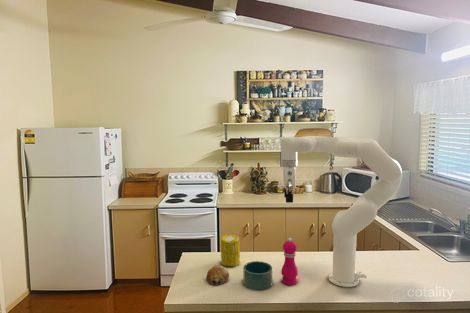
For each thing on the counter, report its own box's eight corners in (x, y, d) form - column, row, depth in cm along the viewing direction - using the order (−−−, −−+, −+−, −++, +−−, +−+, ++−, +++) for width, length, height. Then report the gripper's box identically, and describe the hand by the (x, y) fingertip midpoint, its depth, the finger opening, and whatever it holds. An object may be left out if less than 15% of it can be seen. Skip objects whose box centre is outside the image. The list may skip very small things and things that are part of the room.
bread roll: (231, 287, 144) (234, 268, 146) (219, 286, 135) (223, 267, 138) (212, 281, 149) (216, 264, 151) (200, 281, 140) (205, 262, 143)
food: (239, 262, 165) (236, 272, 155) (218, 256, 166) (213, 265, 156) (246, 235, 162) (243, 243, 152) (224, 229, 163) (219, 237, 153)
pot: (271, 276, 146) (271, 261, 146) (272, 290, 134) (272, 274, 133) (244, 275, 148) (244, 260, 147) (242, 289, 135) (242, 273, 134)
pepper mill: (286, 276, 146) (286, 233, 144) (300, 281, 142) (301, 237, 140) (278, 282, 141) (278, 238, 139) (292, 287, 136) (293, 242, 134)
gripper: (299, 166, 138) (298, 204, 140) (295, 161, 155) (294, 195, 157) (281, 165, 139) (281, 204, 140) (279, 161, 156) (279, 195, 158)
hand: (288, 199), depth 149 cm, fingers open, 9 cm apart
